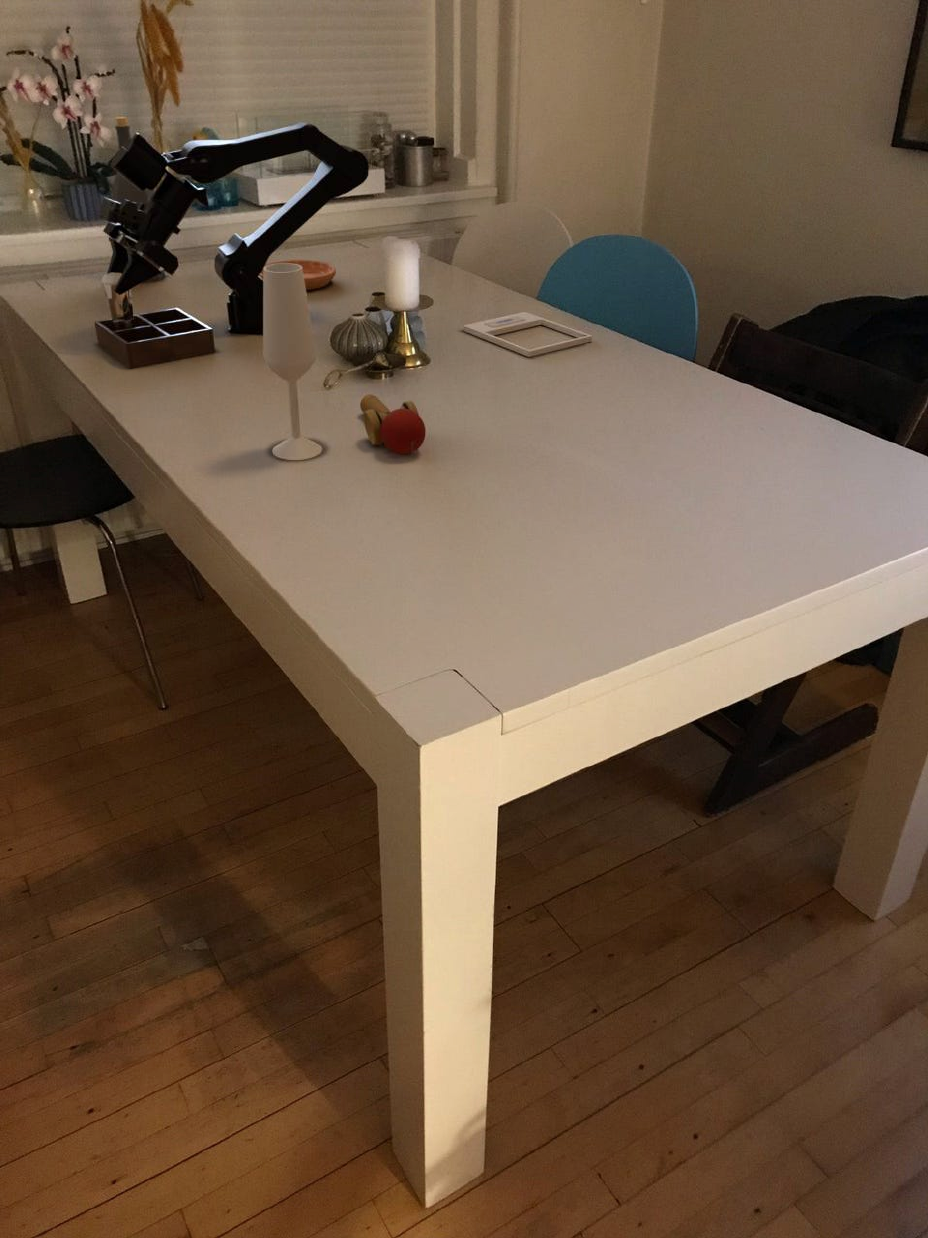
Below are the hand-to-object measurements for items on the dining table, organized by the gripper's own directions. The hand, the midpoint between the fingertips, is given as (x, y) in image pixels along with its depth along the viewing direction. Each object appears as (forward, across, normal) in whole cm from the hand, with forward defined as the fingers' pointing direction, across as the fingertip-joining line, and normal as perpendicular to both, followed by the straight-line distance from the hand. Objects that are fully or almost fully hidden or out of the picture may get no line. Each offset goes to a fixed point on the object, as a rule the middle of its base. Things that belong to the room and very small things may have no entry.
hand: (111, 289), depth 170 cm
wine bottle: (-7, -42, +21) cm, 47 cm away
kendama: (-5, +58, +19) cm, 61 cm away
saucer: (-24, -21, +39) cm, 50 cm away
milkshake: (+4, 0, +6) cm, 7 cm away
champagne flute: (+4, +55, +10) cm, 56 cm away
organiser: (+4, +4, +10) cm, 11 cm away
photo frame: (-36, +33, +51) cm, 70 cm away
